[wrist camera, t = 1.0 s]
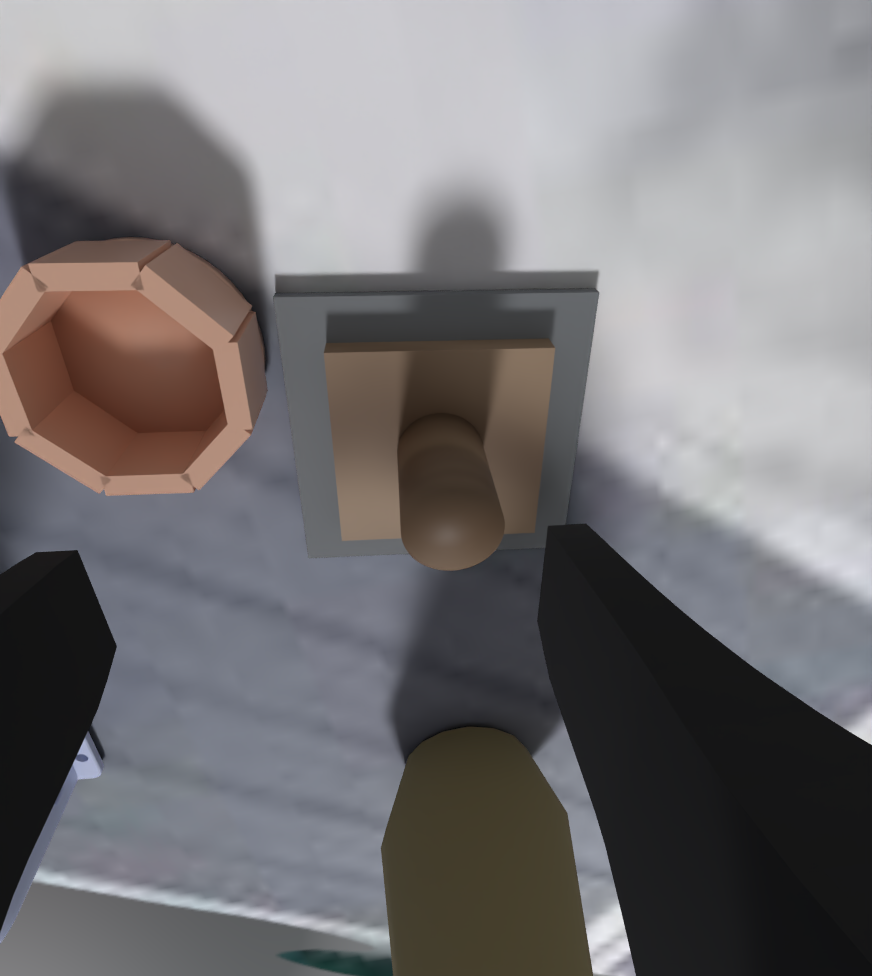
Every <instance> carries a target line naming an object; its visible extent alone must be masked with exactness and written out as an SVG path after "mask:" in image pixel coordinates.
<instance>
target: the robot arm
mask: <svg viewBox="0 0 872 976" xmlns="http://www.w3.org/2000/svg"><path fill="white" fill-rule="evenodd" d="M537 621H538V626H539V631H540V636H541V641H542V646H543V651H544V655H545V660H546V664H547V669H548V673H549V678H550V681H551V684H552V687H553V690H554V693H555V696H556V699H557V702H558V705H559V708H560V711H561V714H562V717H563V720H564V723H565V726H566V729H567V732H568V734H569V737H570V740H571V743H572V746H573V749H574V752H575V755H576V758H577V761H578V763H579V766H580V769H581V772H582V775H583V778H584V781H585V784H586V787H587V790H588V793H589V795H590V798H591V801H592V804H593V807H594V810H595V813H596V816H597V820H598V823H599V826H600V830H601V833H602V836H603V840H604V843H605V847H606V851H607V855H608V859H609V863H610V867H611V871H612V875H613V879H614V883H615V887H616V892H617V896H618V900H619V904H620V908H621V912H622V916H623V920H624V925H625V929H626V933H627V938H628V942H629V947H630V951H631V955H632V960H633V964H634V968H635V973H636V976H872V745H871V744H869V743H867V742H866V741H864V740H862V739H861V738H859V737H857V736H855V735H854V734H852V733H850V732H849V731H847V730H846V729H844V728H843V727H841V726H839V725H838V724H836V723H835V722H833V721H831V720H830V719H828V718H827V717H825V716H824V715H822V714H820V713H819V712H817V711H816V710H814V709H813V708H811V707H810V706H808V705H807V704H806V703H804V702H803V701H801V700H800V699H798V698H797V697H795V696H794V695H792V694H791V693H789V692H788V691H786V690H785V689H784V688H782V687H781V686H779V685H778V684H776V683H775V682H773V681H772V680H770V679H769V678H767V677H766V676H765V675H763V674H762V673H760V672H759V671H758V670H756V669H755V668H754V667H752V666H751V665H749V664H748V663H747V662H745V661H744V660H743V659H741V658H740V657H739V656H738V655H736V654H735V653H734V652H732V651H731V650H730V649H729V648H727V647H726V646H725V645H723V644H722V643H721V642H720V641H718V640H717V639H716V638H714V637H713V636H712V635H711V634H709V633H708V632H707V631H706V630H704V629H703V628H702V627H701V626H699V625H698V624H697V623H696V622H695V621H693V620H692V619H691V618H690V617H689V616H687V615H686V614H685V613H684V612H683V611H681V610H680V609H679V608H678V607H677V606H675V605H674V604H673V603H672V602H671V601H670V600H669V599H667V598H666V597H665V596H664V595H663V594H662V593H661V592H659V591H658V590H657V589H656V588H655V587H654V586H653V585H652V584H650V583H649V582H648V581H647V580H646V579H645V578H644V577H643V576H642V575H641V574H639V573H638V572H637V571H636V570H635V569H634V568H633V567H632V566H631V565H630V564H629V563H628V562H626V561H625V560H624V559H623V558H622V557H621V556H620V555H619V554H618V553H617V552H616V551H615V550H614V549H613V548H611V547H610V546H609V545H608V544H607V543H606V542H605V541H604V540H603V539H602V538H601V537H600V536H599V535H598V534H597V533H596V532H594V531H593V530H592V529H591V528H590V527H589V526H588V525H587V524H572V525H552V526H548V528H547V538H546V547H545V556H544V565H543V574H542V584H541V593H540V602H539V611H538V620H537ZM116 647H117V646H116V643H115V641H114V638H113V636H112V633H111V631H110V629H109V626H108V624H107V621H106V619H105V616H104V614H103V611H102V609H101V607H100V604H99V602H98V599H97V597H96V594H95V592H94V589H93V587H92V584H91V582H90V580H89V577H88V575H87V572H86V570H85V567H84V565H83V562H82V560H81V558H80V555H79V553H78V550H73V551H54V552H36V553H34V554H33V555H31V556H29V557H27V558H26V559H24V560H22V561H21V562H19V563H17V564H16V565H14V566H13V567H11V568H10V569H8V570H7V571H5V572H4V573H2V574H1V575H0V943H1V942H2V940H3V939H4V938H5V936H6V935H7V933H8V931H9V930H10V928H11V926H12V924H13V923H14V921H15V919H16V917H17V915H18V913H19V910H20V908H21V906H22V904H23V901H24V899H25V897H26V895H27V892H28V890H29V888H30V886H31V883H32V881H33V879H34V877H35V875H36V872H37V870H38V868H39V866H40V863H41V861H42V859H43V857H44V854H45V852H46V850H47V848H48V845H49V843H50V841H51V839H52V836H53V834H54V832H55V830H56V827H57V825H58V823H59V821H60V818H61V816H62V814H63V812H64V809H65V807H66V805H67V803H68V800H69V798H70V796H71V794H72V791H73V789H74V787H75V785H76V782H77V780H78V779H91V778H96V777H98V776H100V775H101V773H102V771H103V768H104V764H103V761H102V759H101V757H100V755H99V753H98V751H97V749H96V747H95V744H94V742H93V740H92V738H91V736H90V734H89V732H88V730H89V728H90V725H91V723H92V721H93V719H94V716H95V714H96V712H97V709H98V707H99V704H100V701H101V698H102V695H103V691H104V688H105V685H106V682H107V679H108V675H109V672H110V668H111V665H112V661H113V658H114V654H115V651H116Z"/></svg>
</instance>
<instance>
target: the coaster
mask: <svg viewBox="0 0 872 976" xmlns="http://www.w3.org/2000/svg"><path fill="white" fill-rule="evenodd" d="M598 297H599V292H598V291H597V290H596V289H533V290H467V291H402V292H337V293H275V295H274V297H273V301H274V308H275V315H276V323H277V330H278V337H279V345H280V352H281V359H282V367H283V374H284V382H285V389H286V396H287V404H288V411H289V418H290V426H291V433H292V440H293V448H294V455H295V463H296V470H297V477H298V485H299V492H300V499H301V507H302V514H303V521H304V529H305V536H306V544H307V551H308V558H327V557H350V556H373V555H396V554H409V553H408V552H407V550H406V549H405V547H404V544H403V542H402V538H398V539H374V540H350V541H342V536H341V526H340V516H339V505H338V495H337V484H336V474H335V464H334V453H333V443H332V433H331V422H330V412H329V402H328V391H327V381H326V371H325V360H324V350H325V345H326V343H354V342H403V341H451V340H499V339H548V338H549V340H550V341H551V342H552V344H553V345H554V347H555V355H554V364H553V373H552V382H551V391H550V400H549V409H548V418H547V426H546V435H545V444H544V453H543V462H542V471H541V480H540V489H539V498H538V507H537V516H536V524H535V533H517V534H504V535H503V538H502V540H501V542H500V544H499V546H498V547H497V549H496V550H510V549H533V548H545V547H546V538H547V528H548V526H552V525H566V519H567V512H568V505H569V498H570V491H571V484H572V477H573V470H574V463H575V456H576V449H577V443H578V436H579V429H580V422H581V415H582V408H583V401H584V394H585V387H586V380H587V373H588V366H589V359H590V353H591V346H592V339H593V332H594V325H595V318H596V311H597V304H598Z"/></svg>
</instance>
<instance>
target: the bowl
mask: <svg viewBox="0 0 872 976" xmlns="http://www.w3.org/2000/svg"><path fill="white" fill-rule="evenodd" d="M251 307H252V305H251V304H249V303H248V302H247V301H246V299H245V298H244V296H243V295H242V293H241V292H240V291H239V290H238V289H237V288H236V286H235V285H234V284H233V283H232V282H231V281H230V280H229V279H228V278H227V277H226V276H225V275H224V274H223V273H222V272H221V271H220V270H218V269H217V268H216V267H214V266H213V265H212V264H210V263H209V262H208V261H206V260H205V259H203V258H201V257H200V256H198V255H196V254H195V253H193V252H191V251H188V250H186V249H184V248H183V247H182V246H180V245H179V244H178V243H176V244H175V245H174V244H171V241H170V240H156V239H150V238H143V237H121V238H113V239H108V240H104V241H75V242H73V243H71V244H69V245H67V246H64V247H62V248H60V249H58V250H56V251H54V252H52V253H49V254H47V255H45V256H43V257H41V258H39V259H37V260H34V261H32V262H30V263H28V264H26V265H24V266H22V267H21V268H20V270H19V271H18V273H17V274H16V276H15V277H14V279H13V280H12V282H11V284H10V285H9V287H8V288H7V290H6V291H5V293H4V294H3V296H2V297H1V299H0V416H1V418H2V420H3V423H4V425H5V428H6V430H7V433H8V435H9V437H13V436H18V438H17V439H16V440H15V443H17V444H18V445H20V446H21V447H23V448H25V449H26V450H28V451H30V452H31V453H33V454H35V455H36V456H38V457H40V458H41V459H43V460H45V461H46V462H48V463H49V464H51V465H53V466H54V467H56V468H58V469H59V470H61V471H63V472H64V473H66V474H68V475H69V476H71V477H73V478H74V479H76V480H77V481H79V482H81V483H82V484H84V485H86V486H87V487H89V488H91V489H92V490H94V491H96V492H97V493H99V494H100V493H101V491H102V490H103V489H104V491H105V494H106V496H112V495H139V494H167V493H194V491H195V489H196V488H197V489H198V490H200V489H201V488H202V487H203V486H204V485H205V484H206V483H207V481H208V480H209V479H210V478H211V477H212V476H213V475H214V474H215V473H216V472H217V471H218V470H219V469H220V468H221V466H222V465H223V464H224V463H225V462H226V461H227V460H228V459H229V458H230V457H231V456H232V455H233V454H234V453H235V451H236V450H237V449H238V448H239V447H240V446H241V445H242V444H243V443H244V442H245V441H246V440H247V439H248V438H249V436H250V435H251V433H252V431H253V428H254V426H255V423H256V420H257V418H258V415H259V413H260V410H261V408H262V405H263V402H264V400H265V397H266V393H267V391H268V390H267V383H266V376H265V363H266V357H265V346H264V341H263V337H262V332H261V330H260V327H259V324H258V321H257V318H256V312H253V311H252V309H251Z"/></svg>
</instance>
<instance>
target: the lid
mask: <svg viewBox="0 0 872 976" xmlns="http://www.w3.org/2000/svg"><path fill="white" fill-rule="evenodd" d="M554 355H555V347H554V345H553V344H552V342H551V341H550V340H549V338H548V339H499V340H451V341H403V342H354V343H326V345H325V350H324V360H325V371H326V381H327V391H328V402H329V412H330V422H331V433H332V443H333V453H334V464H335V474H336V484H337V495H338V505H339V516H340V526H341V536H342V541H350V540H374V539H398V538H402V542H403V544H404V547H405V549H406V550H407V552H408V553H409V554H410V555H411V556H412V557H413V558H414V559H415V560H416V561H418V562H419V563H421V564H423V565H425V566H427V567H430V568H433V569H438V570H445V571H453V570H461V569H466V568H469V567H472V566H474V565H477V564H479V563H480V562H482V561H484V560H485V559H487V558H488V557H489V556H490V555H491V554H492V553H493V552H494V551H495V550H496V549H497V547H498V546H499V544H500V542H501V540H502V538H503V535H504V534H517V533H535V524H536V516H537V507H538V498H539V489H540V480H541V471H542V462H543V453H544V444H545V435H546V426H547V418H548V409H549V400H550V391H551V382H552V373H553V364H554Z"/></svg>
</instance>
